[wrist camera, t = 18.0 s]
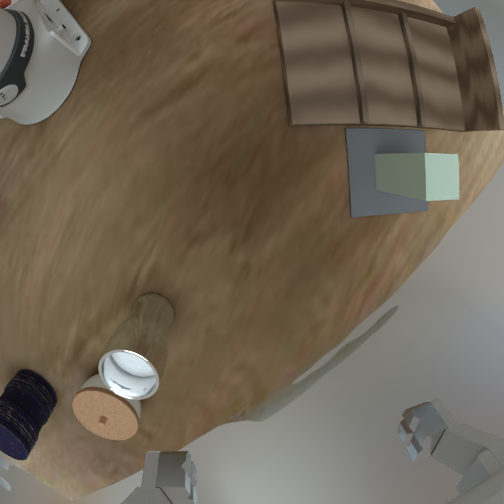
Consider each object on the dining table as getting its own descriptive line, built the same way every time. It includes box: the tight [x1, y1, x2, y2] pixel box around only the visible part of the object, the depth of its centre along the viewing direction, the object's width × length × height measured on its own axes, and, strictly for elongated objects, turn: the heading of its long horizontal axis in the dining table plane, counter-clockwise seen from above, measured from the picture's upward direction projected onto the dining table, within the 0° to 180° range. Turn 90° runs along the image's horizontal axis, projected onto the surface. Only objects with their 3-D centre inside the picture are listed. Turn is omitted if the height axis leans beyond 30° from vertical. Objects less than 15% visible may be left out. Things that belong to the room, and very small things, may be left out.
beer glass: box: [98, 294, 175, 400], centre depth 36 cm, size 7×7×15 cm
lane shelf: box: [273, 0, 504, 132], centre depth 31 cm, size 19×29×10 cm, turn 95°
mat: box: [345, 128, 428, 217], centre depth 40 cm, size 12×13×1 cm
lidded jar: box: [72, 374, 141, 440], centre depth 41 cm, size 11×11×9 cm
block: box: [374, 153, 459, 201], centre depth 34 cm, size 5×5×12 cm
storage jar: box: [0, 369, 57, 460], centre depth 38 cm, size 10×10×15 cm
